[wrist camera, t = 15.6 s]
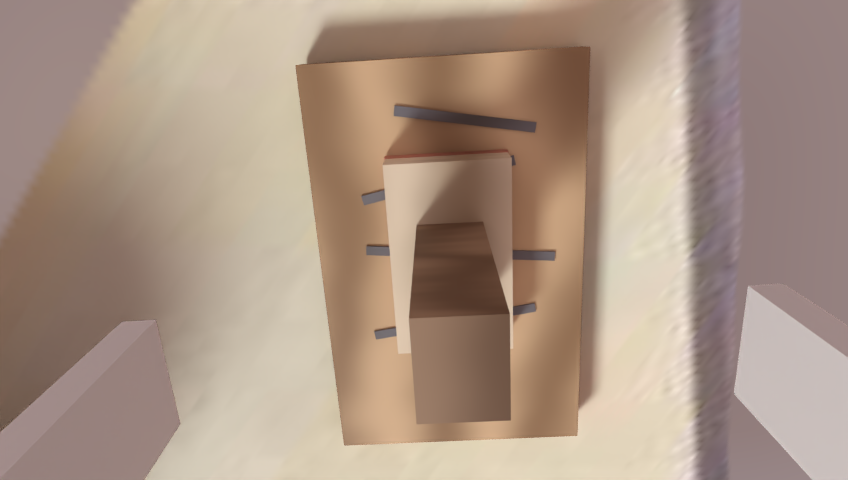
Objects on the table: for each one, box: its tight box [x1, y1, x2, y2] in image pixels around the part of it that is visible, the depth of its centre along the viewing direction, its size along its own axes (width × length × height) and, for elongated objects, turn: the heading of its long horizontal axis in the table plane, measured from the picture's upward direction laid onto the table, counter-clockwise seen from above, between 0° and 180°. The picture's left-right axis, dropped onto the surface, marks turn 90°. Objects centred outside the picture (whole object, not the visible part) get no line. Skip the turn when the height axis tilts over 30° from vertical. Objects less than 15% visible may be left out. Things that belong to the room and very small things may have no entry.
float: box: [383, 149, 513, 424], centre depth 24 cm, size 6×10×12 cm, turn 3°
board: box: [295, 47, 590, 445], centre depth 31 cm, size 14×22×2 cm, turn 3°
